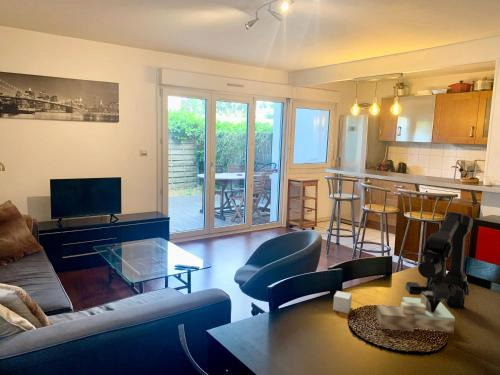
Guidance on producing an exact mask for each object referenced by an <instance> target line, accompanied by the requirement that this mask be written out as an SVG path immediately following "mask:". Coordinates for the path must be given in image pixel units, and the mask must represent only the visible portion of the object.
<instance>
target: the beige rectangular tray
mask: <svg viewBox="0 0 500 375" xmlns="http://www.w3.org/2000/svg"><path fill="white" fill-rule="evenodd" d="M401 302H403V300H401ZM400 308H401V306H391V305H382V304H379V305H378V304H377V305H376V314H375V315H376V316H375V320H376V319H377V320H376V323H377V322H378V323H377V324H379V325H378V327H379V326H380V327H379V329H380V328H382V329H390V330H389V331H393V330H400V331H399V332H405V331H414V332H415V330H414V328H421V329H430V330H439V331H445V332H444V333H446V332H447V333H449V334H454V330H455V324H456V323H455V322H456V320H455V321H445V320H432V319H420V318H415V317H414V315H413V314H408V313H402V311H401V310H400ZM382 329H381V330H382Z"/></svg>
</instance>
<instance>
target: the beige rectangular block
mask: <svg viewBox="0 0 500 375" xmlns="http://www.w3.org/2000/svg"><path fill="white" fill-rule="evenodd" d="M400 307H401V308H400V310H401V311H402V313H408V314H420V315H425V314H426V306H425V305H424V304H423V303H410V302H402V301H401V302H400Z"/></svg>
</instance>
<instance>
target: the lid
mask: <svg viewBox="0 0 500 375" xmlns="http://www.w3.org/2000/svg"><path fill="white" fill-rule="evenodd" d="M420 295H421V296H420V297H410V296H408V297H407V296H402V298H401V299H402V300H403V302H410V303H423V304H424V305H425V306H426V314H425V315H420V314H413V315H414V317H415V318H420V319H432V320H445V321H455V322H456V318H455V316H454V315H453V314H452V313H451V311H450V310H449V309H447V307H445V305H444V304H443V303H442V301H441V302H440V303H439V304H438V306H437V308H436V310H435V312H434V313H431V311H430V308H429V305H428V301H427V299H426V297H425V296H424V295H423V294H420ZM402 300H401V301H402Z"/></svg>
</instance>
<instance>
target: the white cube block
mask: <svg viewBox="0 0 500 375" xmlns="http://www.w3.org/2000/svg"><path fill="white" fill-rule="evenodd" d="M332 307H333V308H332V309H333V311H337V312H339V313H345V314H349V312H350V310H351V308H352V293H350V292H346V291H345V292H344V291H340V290H336V292H335V294H334V295H333V305H332Z"/></svg>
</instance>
